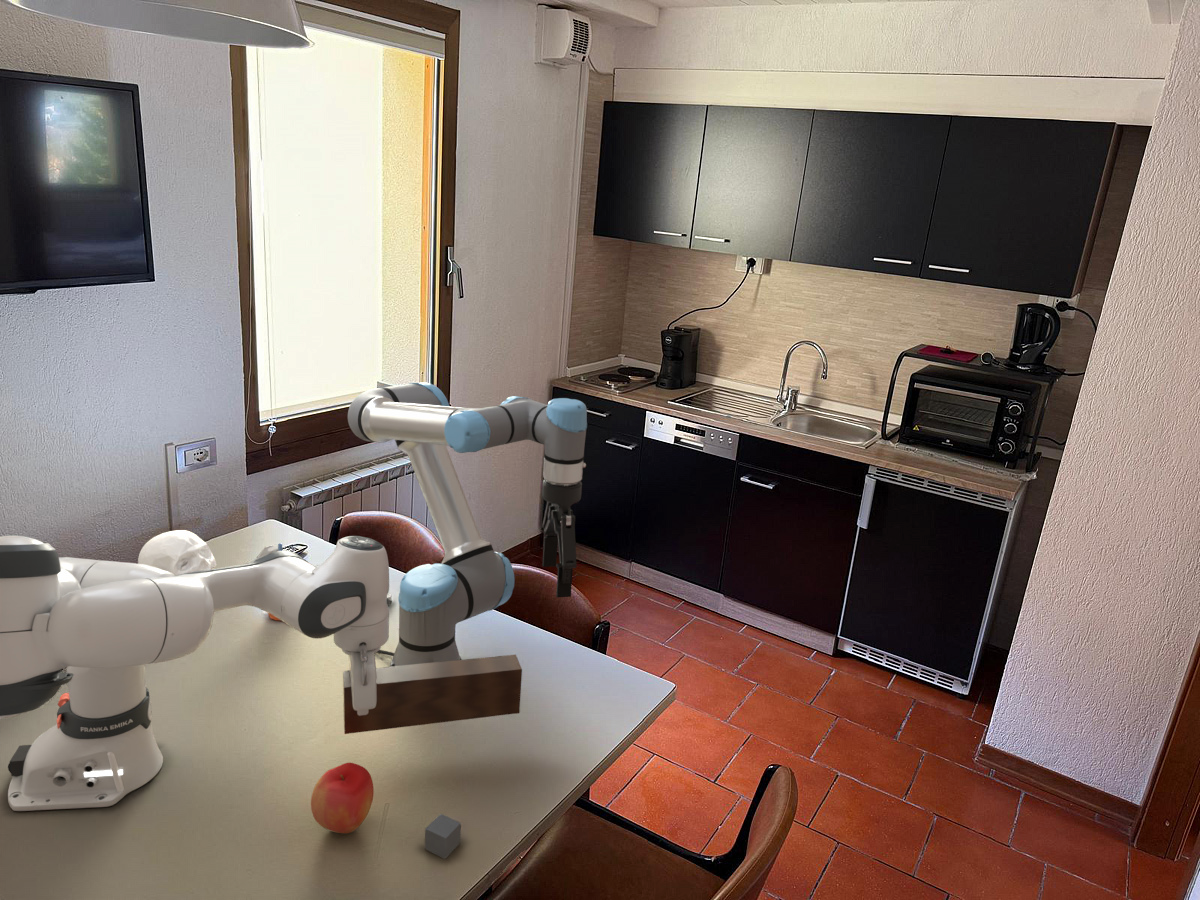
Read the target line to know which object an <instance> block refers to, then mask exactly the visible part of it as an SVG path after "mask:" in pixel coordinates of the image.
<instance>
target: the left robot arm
mask: <svg viewBox="0 0 1200 900" xmlns="http://www.w3.org/2000/svg"><path fill="white" fill-rule="evenodd" d="M389 591H390V565H389V558H388V553H387V550H386V548H385V546H384V545H383V544H382V543H380V542H379V541H377V540H375V539H373V538H370V537H368V536H367V537H365V536H361V535H349V536H345V537H342V538H340V539H338V540H337V542H336V545H335V547H334V550H333V551H332V552H331V554H330V555H328V557H327V558H326V559H325V560H324V561H323V562H322V563H321V564H319V565H318V566H316V565H314V564H312V563H310V561H309V562H308V561H307V560H306V559H305V558H303V557H301V556H300V555H299V554H297V553H296V552H294V551H291V550H282V551H277V552H273V553H270V554H268V555H266V556H263V557H261V558H259V559H257V560H255V559H254V560H253V561H250V562H246V563H243V564H236V565H230V566H223V567H214V568H212V569H208V570H201V571H195V572H189V573H184V574H180V575H176V576H175V575H174V574H173V573H171V572H168V571H165V570H162V569H159V568H156V567H152V566H149V565H145V564H138V563H135V562H123V561H113V560H102V559H91V558H82V557H81V558H80V557H71V556H63V557H59V553H58V550H57V549H56V548H54V547H53V546H52V545H51V544H50V543H49V542H45V541H41V540H39V539H36V538H33V537H29V536H25V535H12V534H11V535H1V536H0V719H1V720H2V719H8V718H13V717H17V716H21V715H23V714H25V713H27V712H31V711H35V710H37V709H38V708H41V706H43V705H45V704H46V703H47V702H49V701H50V700H51V699H52V698H53V697H55V696H56V694H58V691H59V690H60V688H61V687H62V686H64V685H66V684H67V689H68V692H64V693H62V694H61V696H59V700H58V702H57V705H58V709H57V712H56V724H54V725H53V726H51V727H50V728H48V729H47V730H45V731H44V732H42V733H41V734H39V736H37V737H36V738H35V740H34V741H33V742H32V743H31V744H22V745H18V747H17V749H16V751H15V752H14V753H13V755H12V756H11V758H10V760H9V763H8V764H7V770H8V772H9V773H10V775H11V780H10V781H9V782H10V783H9V785H8V790H7V802H8V806H9V807H10V809H11V810H12V811H14V812H28V811H29V812H30V811H50V810H67V809H89V808H107V807H111V806H115V804H117V803H118V802H120V801H121V800H122V799H123V798H124V797H125V796H127V795H128V794H130V793H131V792H133V791H135V790H137V789H139V788H140V787H143V786H144V785H146V784H148V782H150V781H151V780H153V778H155V777H156V775H157V774H158V773H159V772H160V770H161V769H162V766H163V764H164V755H163V753H162V752H161V750H160V748H159V745H158V744H157V741H156V738H155V735H154V734H155V733H154V731H153V727H152V719H153V710H152V709H153V708H152V700H151V697H150V696H151V695H150V691H149V688H148V687H147V684H146V669H145V668H146V666H145V665H152V664H157V663H164V662H168V661H170V662H171V661H174V660H177V659H180V658H183V657H186V656H188V655H191V654H193V653H195V652H196V651H197V650H199V648H200V647H201V646H202V645H203V643H204V642H205V640H207V638H208V636H209V634H210V632H211V629H212V625H213V621H214V615H215V612H218V611H222V610H227V609H228V610H229V609H233V608H239V607H244V606H250V607H254V608H257V609H258V610H262V611H264V612H265V613H270V614H272V615H273V616H275V617H277V618H278V619H280V620H279V621H280V622H283V623H284V624H286V625H288V626H289V627H291V628H292V629H294V630H295V631H297V632H299V633H300V634H302V635H304V636H306V637H308V638H311V639H316V640H317V639H324V638H327V637H330V636H332V635H333V643H334V645H336V647H338V649H339V648H340V649H341V651H342V652H343V653H344V654H345V655H347V656H348V664H349V671H350V678H351V691H352V704H353V709H354V710H357V714H358V715H359V716H360V715H367V714H368V710H369V709H374V708H375V707H376V703H377V683H376V668H377V663H376V656H375V654H376V653H377V652H378V651H379V650H381V648H382V647H383V646H384V645H385V644H386V643H387V642H388V640H389V637H390V608H389V605H388V604H387V595H388V594H389ZM64 668H66V669H65V671H66V672H64V671H63V670H64Z"/></svg>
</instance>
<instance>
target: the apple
mask: <svg viewBox="0 0 1200 900" xmlns="http://www.w3.org/2000/svg"><path fill="white" fill-rule="evenodd" d="M374 790H375V789H374V782H373V777H372V775H371V773H370V772H369V770H368V769H367V768H366V767H365V766H362V765H361V764H357V763H354V762H345V763H343V764H340V765H338V766H336V767H333V768H331V769H328V770H327V771H325V772H324V773H323V774H322V775H321V776H320V778H318V780H317V782H316V784H315V785H314V788H313V790H312V793H311V798H310V811H311V814H312V816H313V819H314V820H315V822H316V823H317V824H318V825H319V826H320V827H322V828H324V829H325V830H327V831H331V832H333V833H337V834H350V833H353V832H354V831H356V830H358V828H359V827H360V826H361V825H362V823H363V822H364V821H365V819H366V818H367V816H368V814H369V812H370V810H371V807H372V804H373V801H374V794H375V793H374V792H375V791H374Z"/></svg>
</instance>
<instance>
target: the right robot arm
mask: <svg viewBox="0 0 1200 900" xmlns="http://www.w3.org/2000/svg"><path fill="white" fill-rule="evenodd" d="M587 414H588V411H587V406H586V404H585V403H584V402H583V401H581V400H579V399H575V398H568V397H558V398H553V399H550V400H549V401H548V402H547V404H546V403H543V402H539V401H536V400H533V399H532V398H528V397H525V396H518V395H511V396H509V397H507V398H506V399H505V400H504V401H502V402H501V403H500V404H498V405H493V406H487V407H479V408H472V407H460V406H459V407H457V406H450V404H449V401H448V399H447V396H445V394H444V392H443V391H442V390H441V389H440V388H439V387H437V386H436V385H435V384H432V383H430V382H409V383H406V384H399V385H391V386H385V387H377V388H370V389H368V390H365V391H363V392H361V393H359V394H358V395H357V396H356V397H355V398H354V399H353V400H352V402H351V403H350V405H349V408H348V411H347V423H348V426H349V428H350V430H351V432H352V434H354V435H355V436H356V437H358V438H359V439H360V440H363V441H365V442H371V443H379V444H380V443H383V444H384V443H387V442H390V441H392V440H394V441H395V444H396V447H397V449H398V451H400V452H402V453H404V454H406V455H407V457H408V459H409V461H410V465H411V466H412V470H413V472H414V474H415V477H416V480H417V483H418V485H419V488H420V491H421V493H422V496H423V498H424V501H425V504H426V507H427V509H428V511H429V514H430V517H431V519H432V522H433V525H434V527H435V530H436V532H437V535H438V538H439V541H440V543H441V546H442V548H443V552H444V556H443V559H442V561H441V563H439V562H438V563H437V562H436V563H433V564H430V563H425V564H422V565H421V564H420V565H419V566H416V567H414V568H412V569H410V570H408V571H407V572H406V573H405V574H404V575H403V577H402V578H401V581H400V584H399V593H398V597H397V600H398V643H397V645H396V648H395V651H394V652H392V651H388V650H382V649H380V650H379V651H378V652H376V653H377V654H381V655H382V654H383V655H386V656H390V657H392V659H391V660H390V666H389V667H393V666H403V665H413V664H423V663H434V662H444V661H454V660H462V657H461V656H460V653H459V649H458V646H457V642H456V625H457V624H459V623H461V622H464V621H466V620H468V619H472V618H474V617H476V616H479V615H482V614H484V613H486V612H490V611H493V610H495V609H497V608H498V607H499V606H502V605H504V604H505V603H507V602H508V601H509V600H510V598H511V597H512V595H513V593H514V592H513V591H514V588H515V573H514V568H513V565H512V563H511V561H510V559H509V558H508V557H506V556H505V554H504V553H502V552H497V551H495V550H494V548H493V545H492V543H491V542H489V541H487V540H485V539H484V538H482V536H481V533H480V530H479V528H478V525H477V523H476V520H475V517H474V514H473V513H472V509H471V507H470V504H469V502H468V499H467V496H466V494H465V492H464V489H463V487H462V484H461V481H460V479H459V476H458V474H457V471H456V469H455V468H456V467H455V466H454V463H453V460H452V458H451V455H450V453H449V450H448V448H447V447H450V448H451V449H452V450H453V451H454V452H456V453H458V454H467V453H477V452H479V451H483V450H485V449H490V448H495V447H499V446H504V445H508V444H513V443H517V442H521V441H526V440H527V441H531V442H535V443H537V444H541V445H544V455H543V472H542V477H543V478H544V479H543V480H542V491H541V496H542V499H543V500H544V501H546V504H545V509H544V510H545V511H544V515H543V520H542V525H541V527H542V530H543V534H544V537H543V551H542V552H543V553H542V567H543V568H548V567H549V568H552V567H555V568H557V578H556V590H555V591H556V592H555V597H556V598H571V597H572V585H573V574H574V573H573V571H574V569H576V568H577V566H578V564H577V549H576V547H577V546H576V545H577V544H576V516H575V514H574V512H573V509H571V506H572V505H574V504H577V503H579V502H580V501H581V499H582V493H583V491H582V489H583V482H582V480H583V473H584V472H583V471H584V469H585V468H586V467H587V464H586V462H584V459H585V444H586V436H587V428H588V420H587V419H588V417H587V416H588V415H587ZM558 555H559V556H558ZM558 559H559V563H557V562H558V561H557V560H558Z"/></svg>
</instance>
